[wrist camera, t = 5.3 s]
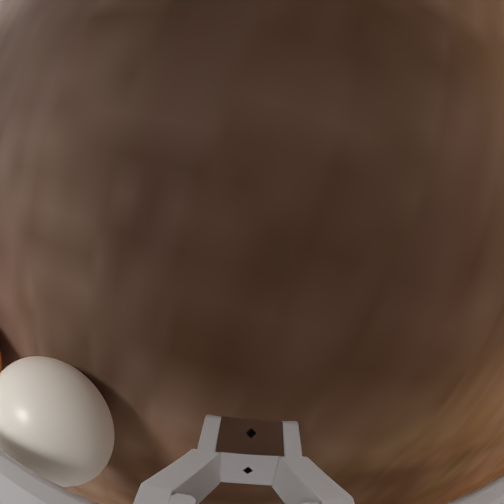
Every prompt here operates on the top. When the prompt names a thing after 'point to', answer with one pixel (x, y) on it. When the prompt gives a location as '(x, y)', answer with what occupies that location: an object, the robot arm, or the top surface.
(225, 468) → the robot arm
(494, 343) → the top surface
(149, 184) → the top surface
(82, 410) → the white ping pong ball
